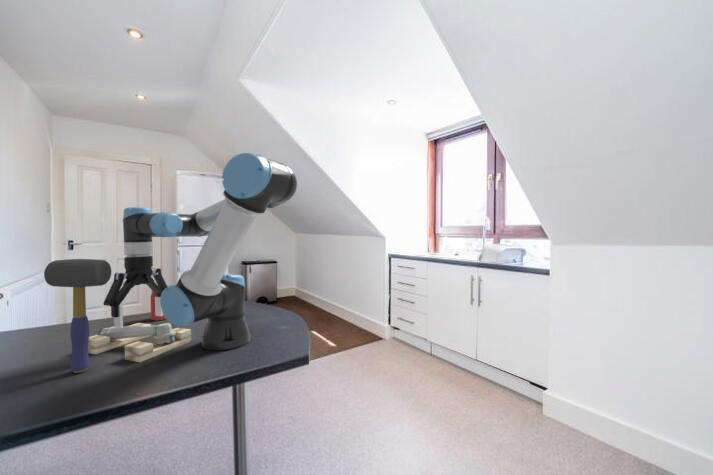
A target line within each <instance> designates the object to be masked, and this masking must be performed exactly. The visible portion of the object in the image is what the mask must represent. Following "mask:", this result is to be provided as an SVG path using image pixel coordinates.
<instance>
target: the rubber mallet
mask: <svg viewBox="0 0 713 475" xmlns="http://www.w3.org/2000/svg"><path fill="white" fill-rule="evenodd" d="M43 272H44V274H43V277H44V281H45V282H46V284H48V285H49V286H51V287H58V288H59V287H60V288H61V287H62V288H63V287H64V288H72V319H71V322H70V331H69V333H70V342H71V361H70V366H69V367H70V370H71V371H72V372H73V373H74V374H77V373H78V374H79V373H83V372H85V371H87V370H88V368H89V367H90V365H91V360H90V355H89V353H88V340H89V337H90V325H89V318H88V316H87V309H86V308H87V306H86V305H87V304H86V301H87V300H86V299H87V298H86V288H87V287H103V286H104V285H106V284H107V283H108V282H109V281H110V279H111V277H112V266H111V264H110V263H109V262H108V261H107V260H105V259H94V258H93V259H90V258H87V259H86V258H72V259H68V258H67V259H56V260H53V261H51V262H49V263H48V264H47V265H46V266H45V269H44V271H43Z"/></svg>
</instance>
